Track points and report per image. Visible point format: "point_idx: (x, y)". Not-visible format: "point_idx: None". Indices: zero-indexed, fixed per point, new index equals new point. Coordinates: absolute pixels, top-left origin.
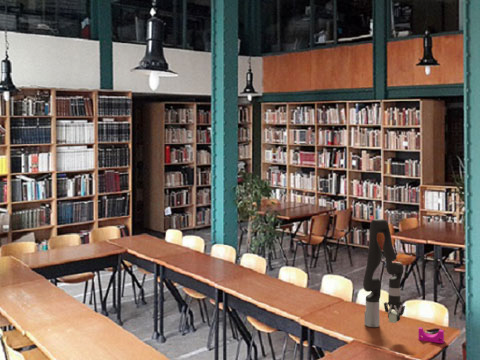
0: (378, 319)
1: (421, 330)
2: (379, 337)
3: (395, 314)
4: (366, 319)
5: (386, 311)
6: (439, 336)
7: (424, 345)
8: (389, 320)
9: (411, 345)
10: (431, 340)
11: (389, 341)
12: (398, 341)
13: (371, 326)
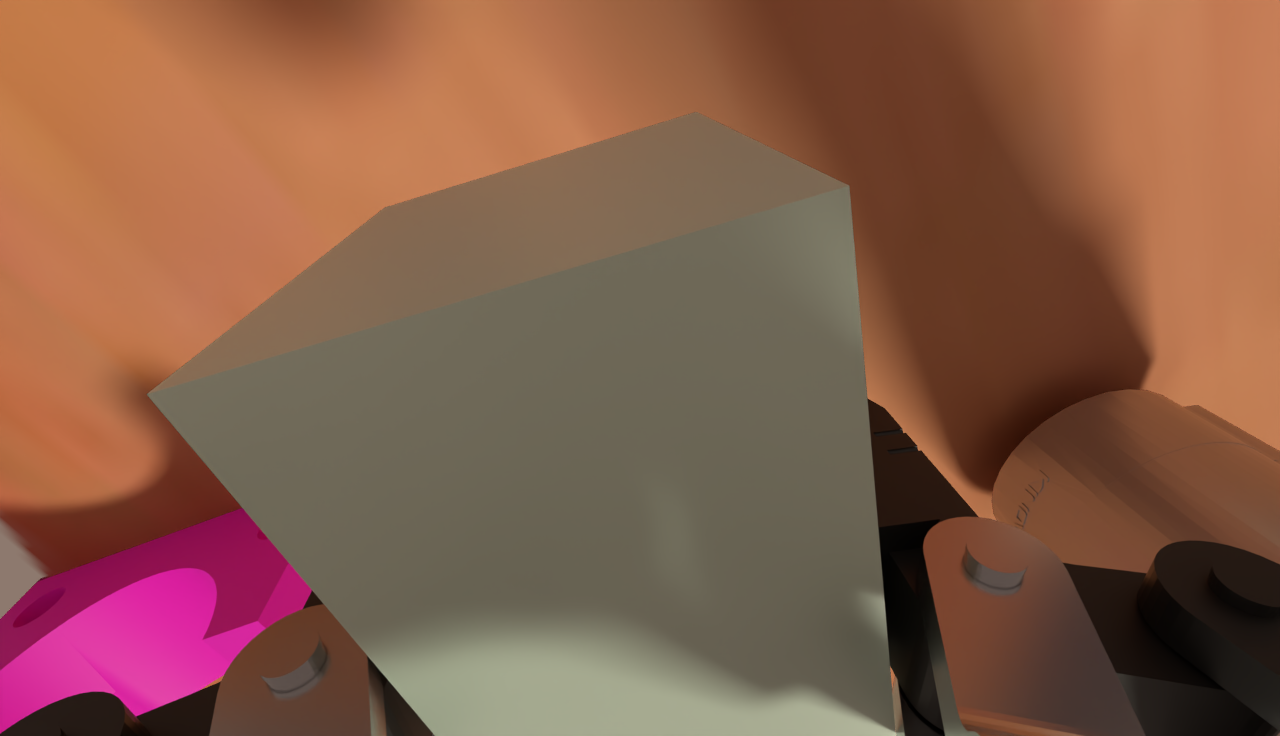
0: (1077, 562)
1: (221, 613)
2: (843, 149)
3: (398, 562)
4: (1273, 460)
5: (1202, 587)
6: (4, 647)
7: (60, 331)
8: (675, 130)
9: (173, 164)
10: (164, 545)
11: (598, 69)
12: None
13: (1094, 403)
